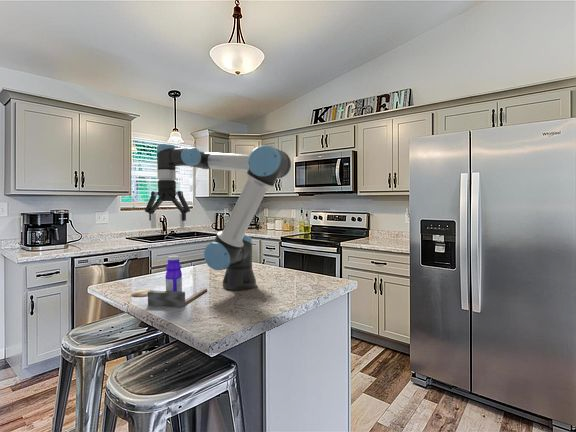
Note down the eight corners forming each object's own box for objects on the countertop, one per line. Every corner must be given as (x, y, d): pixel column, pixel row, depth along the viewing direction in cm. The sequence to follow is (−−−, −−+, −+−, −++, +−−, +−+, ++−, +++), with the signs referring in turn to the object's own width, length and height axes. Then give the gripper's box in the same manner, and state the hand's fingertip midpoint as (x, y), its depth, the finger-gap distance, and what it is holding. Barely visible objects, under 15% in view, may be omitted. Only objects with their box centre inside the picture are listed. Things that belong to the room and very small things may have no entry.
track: (207, 290, 142) (206, 279, 142) (182, 307, 120) (181, 293, 120) (177, 289, 145) (177, 278, 144) (147, 305, 123) (147, 292, 122)
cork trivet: (159, 291, 142) (159, 290, 142) (146, 297, 133) (146, 295, 133) (140, 290, 144) (140, 289, 144) (126, 296, 135) (126, 294, 135)
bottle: (169, 298, 131) (168, 254, 131) (184, 298, 132) (183, 254, 131) (163, 304, 124) (162, 257, 124) (179, 303, 125) (178, 257, 124)
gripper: (197, 180, 147) (198, 227, 148) (145, 181, 151) (146, 227, 152) (189, 178, 140) (190, 229, 141) (135, 180, 144) (136, 228, 145)
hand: (167, 228), depth 147 cm, fingers open, 13 cm apart
